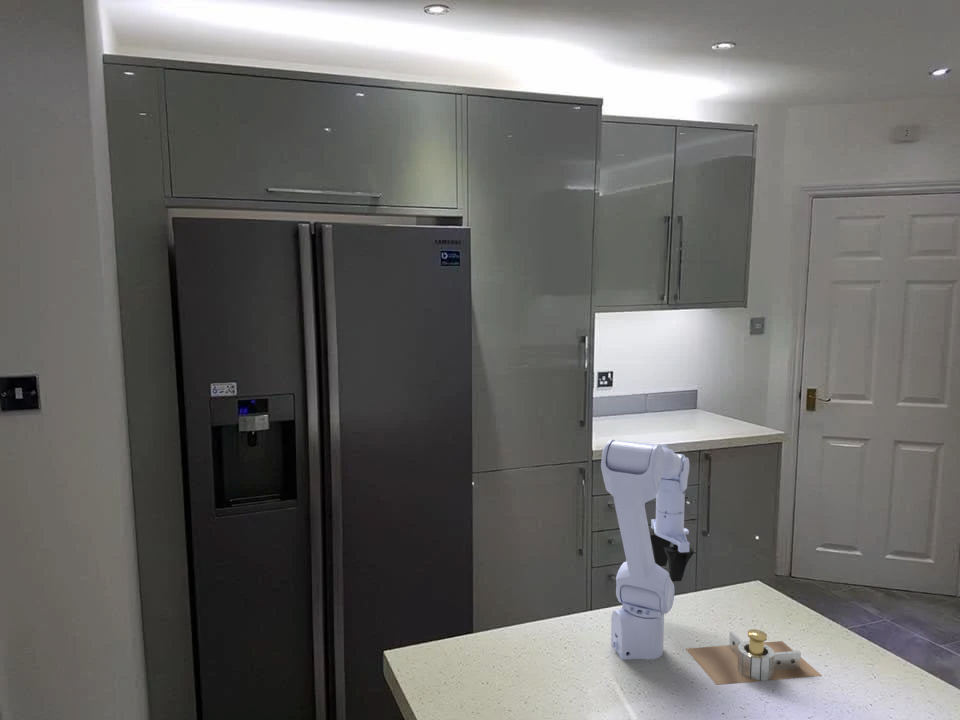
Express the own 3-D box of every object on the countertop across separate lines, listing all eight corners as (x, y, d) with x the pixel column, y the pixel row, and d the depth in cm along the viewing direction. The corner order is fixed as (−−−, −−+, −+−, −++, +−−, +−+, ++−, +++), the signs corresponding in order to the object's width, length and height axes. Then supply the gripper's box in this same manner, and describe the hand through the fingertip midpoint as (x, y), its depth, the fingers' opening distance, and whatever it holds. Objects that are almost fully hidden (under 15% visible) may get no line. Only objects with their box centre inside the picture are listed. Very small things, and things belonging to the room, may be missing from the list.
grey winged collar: (748, 681, 116) (749, 660, 116) (716, 647, 127) (716, 627, 127) (809, 676, 118) (810, 655, 117) (772, 643, 129) (772, 623, 129)
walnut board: (716, 690, 115) (716, 684, 115) (685, 653, 127) (685, 648, 127) (821, 680, 118) (821, 675, 118) (781, 645, 130) (782, 641, 130)
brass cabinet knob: (750, 676, 117) (753, 638, 117) (741, 666, 121) (744, 629, 120) (767, 675, 118) (770, 637, 117) (758, 666, 121) (761, 629, 120)
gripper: (704, 520, 131) (702, 586, 133) (673, 498, 146) (671, 558, 147) (670, 522, 130) (669, 588, 132) (642, 500, 145) (641, 560, 146)
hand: (668, 572), depth 139 cm, fingers open, 7 cm apart
